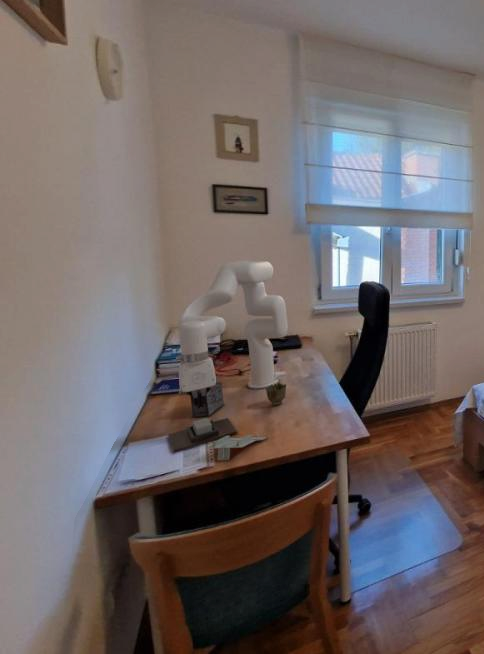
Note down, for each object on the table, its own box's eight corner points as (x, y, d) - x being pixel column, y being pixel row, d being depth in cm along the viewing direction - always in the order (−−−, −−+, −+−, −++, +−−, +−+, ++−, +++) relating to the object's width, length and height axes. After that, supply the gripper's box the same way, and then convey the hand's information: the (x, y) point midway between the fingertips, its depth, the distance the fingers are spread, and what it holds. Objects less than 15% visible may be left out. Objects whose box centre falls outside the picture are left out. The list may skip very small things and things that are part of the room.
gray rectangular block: (208, 426, 152) (207, 417, 151) (212, 433, 147) (211, 424, 146) (193, 430, 148) (192, 421, 148) (197, 438, 144) (196, 428, 143)
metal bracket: (247, 441, 133) (198, 443, 131) (245, 460, 132) (196, 462, 131) (268, 431, 147) (224, 432, 146) (267, 448, 146) (222, 450, 145)
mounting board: (228, 420, 159) (227, 414, 158) (236, 433, 149) (236, 427, 148) (168, 436, 146) (167, 430, 146) (173, 453, 136) (173, 446, 136)
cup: (291, 402, 174) (290, 384, 173) (275, 409, 168) (274, 391, 166) (279, 399, 177) (277, 381, 176) (263, 406, 171) (261, 387, 169)
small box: (208, 405, 171) (205, 381, 169) (224, 405, 171) (222, 381, 170) (191, 417, 160) (188, 392, 159) (209, 417, 161) (206, 391, 159)
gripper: (169, 364, 135) (174, 416, 138) (222, 354, 146) (227, 403, 148) (166, 358, 141) (171, 409, 143) (218, 349, 151) (222, 397, 154)
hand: (200, 406), depth 146 cm, fingers closed
